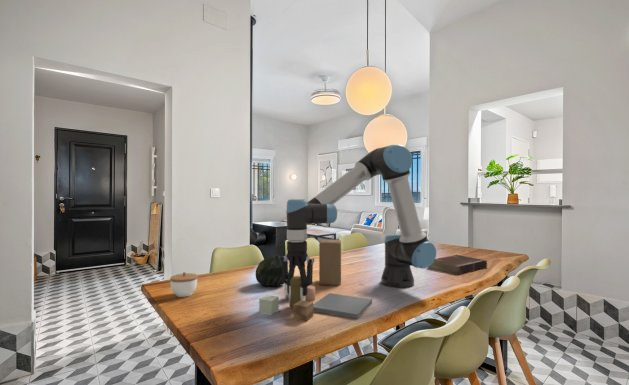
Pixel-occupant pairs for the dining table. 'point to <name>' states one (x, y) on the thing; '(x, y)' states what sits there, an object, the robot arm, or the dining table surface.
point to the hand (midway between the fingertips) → (297, 303)
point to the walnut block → (303, 310)
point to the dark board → (342, 305)
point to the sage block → (268, 304)
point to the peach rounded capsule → (310, 294)
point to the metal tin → (286, 293)
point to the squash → (270, 271)
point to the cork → (295, 290)
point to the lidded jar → (184, 284)
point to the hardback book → (458, 264)
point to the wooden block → (330, 262)
